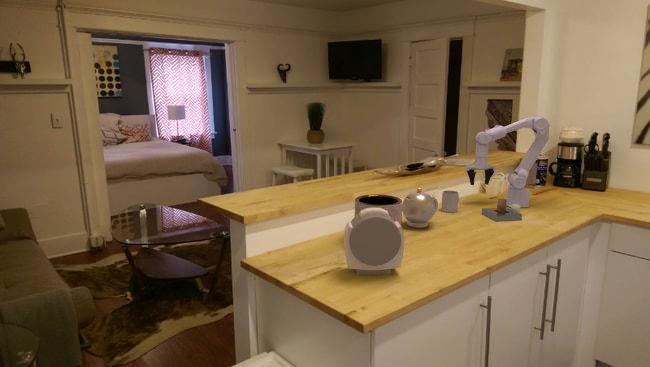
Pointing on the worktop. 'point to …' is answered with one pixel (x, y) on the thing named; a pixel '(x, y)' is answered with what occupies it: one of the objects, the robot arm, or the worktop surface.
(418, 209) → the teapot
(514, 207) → the pale cream cylinder
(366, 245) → the alarm clock
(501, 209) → the walnut dowel
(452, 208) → the cup
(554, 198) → the worktop surface
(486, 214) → the collar plate
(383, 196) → the planter
